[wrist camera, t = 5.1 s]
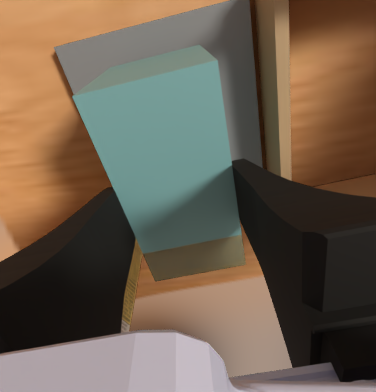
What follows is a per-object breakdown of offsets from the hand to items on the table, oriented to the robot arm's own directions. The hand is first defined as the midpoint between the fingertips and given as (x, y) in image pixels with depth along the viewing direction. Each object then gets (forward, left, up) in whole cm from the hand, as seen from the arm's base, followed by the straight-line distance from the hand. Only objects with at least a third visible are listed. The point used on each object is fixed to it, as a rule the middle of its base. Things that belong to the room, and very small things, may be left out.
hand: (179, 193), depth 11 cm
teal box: (0, -1, -5) cm, 5 cm away
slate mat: (0, -1, -7) cm, 7 cm away
